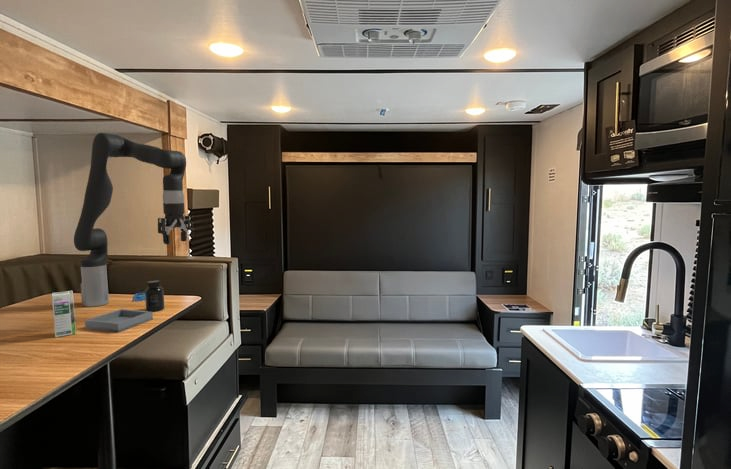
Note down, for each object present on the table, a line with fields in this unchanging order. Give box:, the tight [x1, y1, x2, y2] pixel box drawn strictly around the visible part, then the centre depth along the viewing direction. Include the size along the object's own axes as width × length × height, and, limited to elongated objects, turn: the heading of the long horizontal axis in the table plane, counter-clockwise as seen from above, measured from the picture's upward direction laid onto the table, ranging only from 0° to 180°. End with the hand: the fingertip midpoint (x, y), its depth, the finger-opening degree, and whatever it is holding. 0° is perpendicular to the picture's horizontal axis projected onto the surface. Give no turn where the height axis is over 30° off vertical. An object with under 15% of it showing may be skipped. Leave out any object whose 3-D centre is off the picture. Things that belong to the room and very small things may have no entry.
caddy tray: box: [84, 308, 154, 333], centre depth 146 cm, size 15×15×3 cm
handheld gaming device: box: [132, 292, 145, 302], centre depth 186 cm, size 8×1×15 cm
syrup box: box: [51, 290, 77, 338], centre depth 135 cm, size 6×6×14 cm
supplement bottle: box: [144, 280, 165, 313], centre depth 164 cm, size 7×7×12 cm
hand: (175, 242), depth 158 cm, fingers open, 8 cm apart
